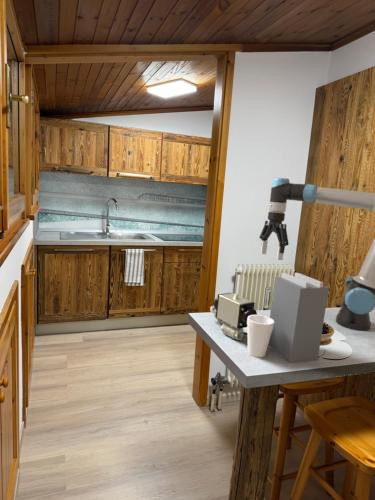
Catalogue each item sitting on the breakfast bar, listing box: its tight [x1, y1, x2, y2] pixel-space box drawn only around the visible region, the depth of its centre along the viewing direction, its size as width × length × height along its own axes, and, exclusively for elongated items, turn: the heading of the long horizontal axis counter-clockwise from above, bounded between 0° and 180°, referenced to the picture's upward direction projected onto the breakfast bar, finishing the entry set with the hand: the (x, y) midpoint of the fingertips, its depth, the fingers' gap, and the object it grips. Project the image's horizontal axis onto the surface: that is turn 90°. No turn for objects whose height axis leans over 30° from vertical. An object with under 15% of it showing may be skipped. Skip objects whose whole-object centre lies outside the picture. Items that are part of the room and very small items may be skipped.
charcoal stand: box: [268, 272, 330, 364], centre depth 128 cm, size 12×15×29 cm
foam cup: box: [246, 314, 274, 358], centre depth 126 cm, size 10×9×13 cm
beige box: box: [210, 304, 223, 324], centre depth 154 cm, size 9×7×10 cm
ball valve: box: [213, 292, 258, 341], centre depth 139 cm, size 18×8×18 cm, turn 36°
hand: (271, 256), depth 165 cm, fingers open, 13 cm apart
